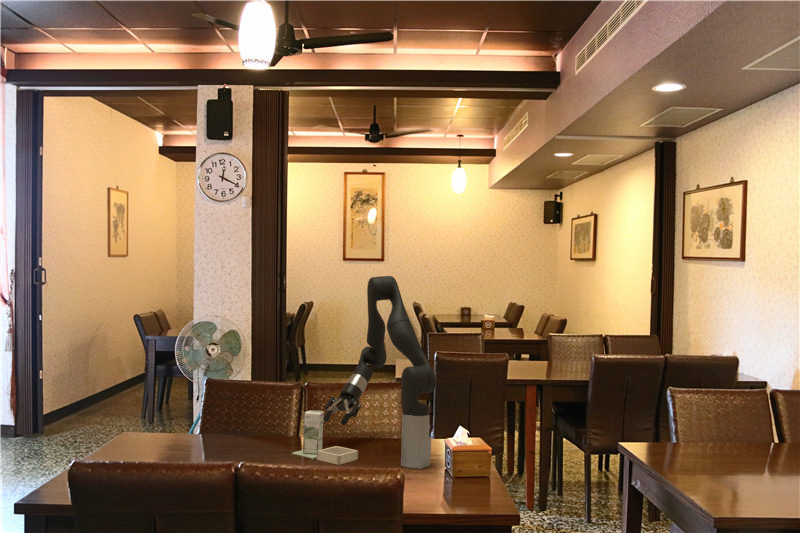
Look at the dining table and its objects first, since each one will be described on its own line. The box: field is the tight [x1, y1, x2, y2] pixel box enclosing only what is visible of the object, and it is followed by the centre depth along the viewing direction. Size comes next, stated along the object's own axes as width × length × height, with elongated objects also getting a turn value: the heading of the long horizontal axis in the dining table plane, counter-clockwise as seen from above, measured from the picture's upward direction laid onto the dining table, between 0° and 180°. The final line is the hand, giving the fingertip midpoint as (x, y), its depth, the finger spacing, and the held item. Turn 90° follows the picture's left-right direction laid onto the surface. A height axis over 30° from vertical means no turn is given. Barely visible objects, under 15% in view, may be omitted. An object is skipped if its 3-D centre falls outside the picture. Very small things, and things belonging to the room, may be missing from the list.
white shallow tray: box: [291, 445, 359, 466], centre depth 215 cm, size 22×13×3 cm, turn 55°
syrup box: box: [302, 409, 325, 454], centre depth 219 cm, size 6×6×14 cm
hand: (333, 422), depth 228 cm, fingers open, 8 cm apart
